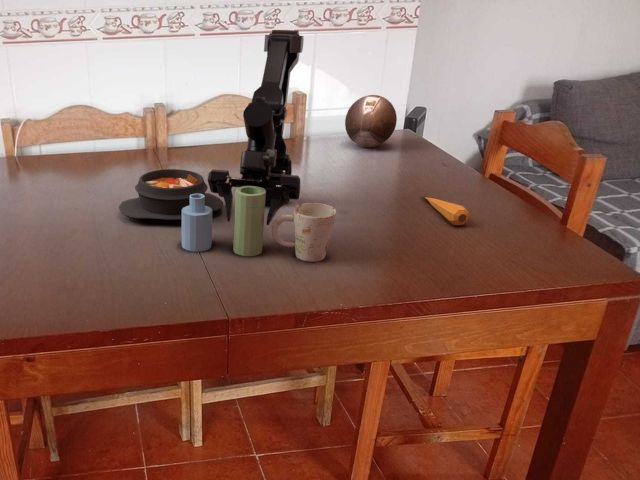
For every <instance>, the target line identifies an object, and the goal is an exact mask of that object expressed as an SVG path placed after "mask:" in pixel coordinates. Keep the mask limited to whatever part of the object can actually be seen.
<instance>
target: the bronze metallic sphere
mask: <svg viewBox="0 0 640 480" xmlns="http://www.w3.org/2000/svg"><path fill="white" fill-rule="evenodd" d="M397 121H398V117H397V112H396V109H395V107H394V105H393V104H392V102H390V101H389V99H387V98H386V97H384V96H381V95H378V94H368V95H365V96H362V97H359V98H358V99H357V100H355V101H354V102H353V103H352V104H351V105H350V107H349V108H348V110H347V112H346V115H345V119H344V127H345V131H346V134H347V136H348V138H349V139H350V140H351V141H352V142H353V143H355V144H356V145H358V146H360V147H363V148H374V147H378V146H381V145H382V144H384V143H385V142H387V141H388V140H389V139H390V138H391V136H392V135H393V133H395V129H396V127H397Z"/></svg>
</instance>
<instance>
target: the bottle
mask: <svg viewBox="0 0 640 480" xmlns="http://www.w3.org/2000/svg"><path fill="white" fill-rule="evenodd" d="M212 245H213V211H212V208H210V207H208V206H205V195H203V194H191V195H190V206H186V207H184V208H183V209H182V220H181V248H182V249H183V250H185V251H188V252H196V253H197V252H199V253H200V252H205V251H208V250H210V249H211V248H212Z"/></svg>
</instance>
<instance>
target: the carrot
mask: <svg viewBox="0 0 640 480" xmlns="http://www.w3.org/2000/svg"><path fill="white" fill-rule="evenodd" d="M424 198H425V199H426V201H428V202H429V203H430V205H431V206H432V207H433V208H434V209H435V210H436V211H437V212H439V214H440V215H442V216H443V217H444V218H445V219H446V220H447V221H448V222H449V223H450V224H451V225H453V226H463V225H465V224H466V223H467V222H468V221H469V216H470V213H469V211H468V210H467V209H466V208H465V206H463V205H459V204H457V203H453V202H448V201H446V200H441V199H438V198H432V197H426V196H424Z"/></svg>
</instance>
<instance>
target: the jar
mask: <svg viewBox="0 0 640 480" xmlns="http://www.w3.org/2000/svg"><path fill="white" fill-rule="evenodd" d="M265 197H266V190H265V189H264V188H261V187H257V186H242V187H236V188H235V196H234V221H233V222H234V223H233V245H232V246H233V247H232V249H233V250H232V251H233V252H234V253H235V254H236V255H239V256H243V257H256V256H258V255H260V254H262V252H263V244H264V229H265V228H264V225H265V212H266V206H265Z"/></svg>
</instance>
